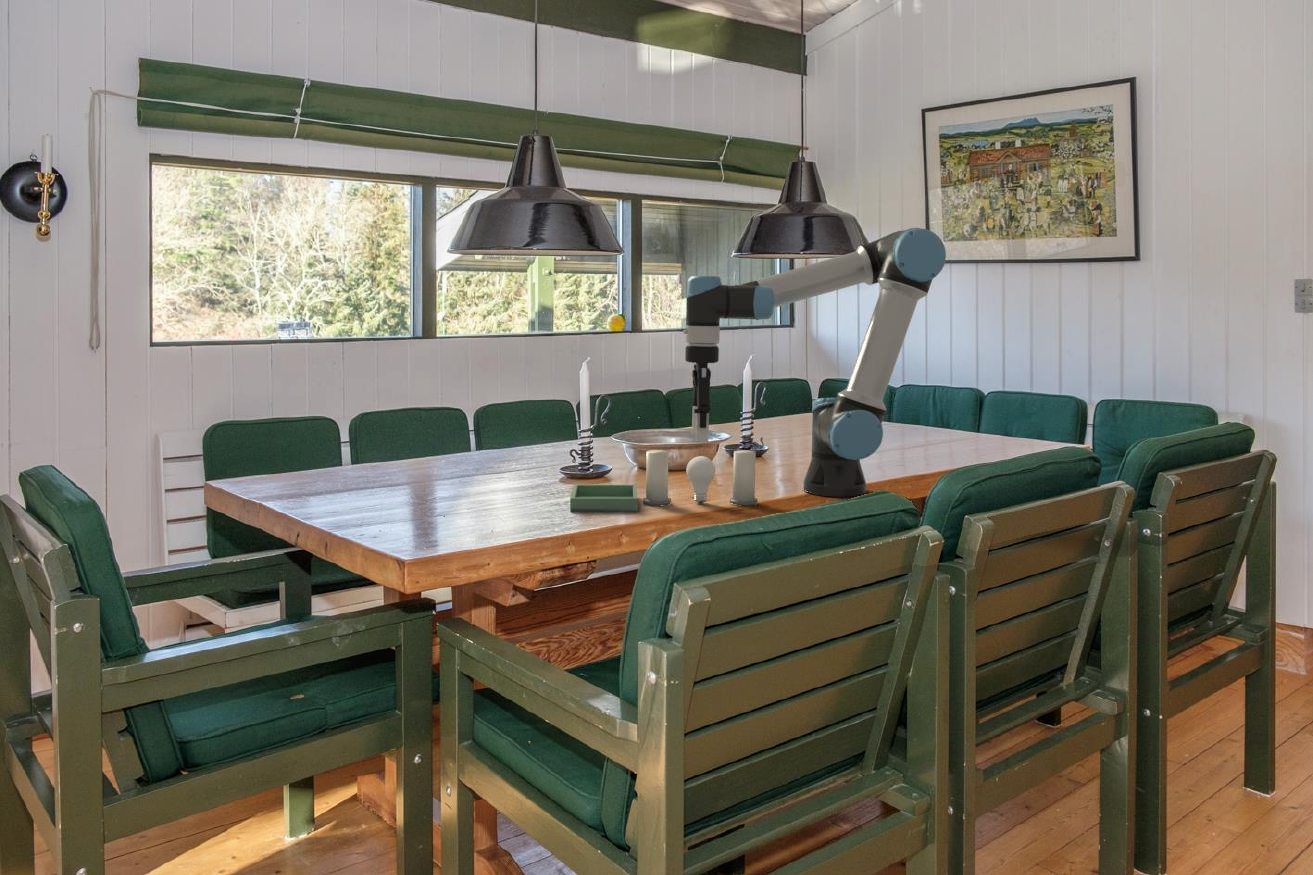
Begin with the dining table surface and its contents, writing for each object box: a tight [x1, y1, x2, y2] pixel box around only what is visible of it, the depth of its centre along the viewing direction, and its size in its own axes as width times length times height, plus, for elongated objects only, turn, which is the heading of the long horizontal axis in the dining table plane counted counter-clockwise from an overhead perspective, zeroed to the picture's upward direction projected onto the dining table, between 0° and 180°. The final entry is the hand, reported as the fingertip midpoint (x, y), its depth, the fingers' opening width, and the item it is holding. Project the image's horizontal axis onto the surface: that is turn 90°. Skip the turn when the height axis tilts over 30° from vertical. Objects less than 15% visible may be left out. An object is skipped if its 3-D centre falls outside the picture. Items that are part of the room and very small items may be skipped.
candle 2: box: [729, 449, 759, 507], centre depth 248 cm, size 6×6×12 cm
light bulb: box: [685, 455, 716, 504], centre depth 247 cm, size 7×7×11 cm
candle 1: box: [642, 449, 672, 507], centre depth 247 cm, size 6×6×12 cm
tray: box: [569, 484, 639, 513], centre depth 246 cm, size 15×17×3 cm
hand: (699, 438), depth 246 cm, fingers open, 13 cm apart
